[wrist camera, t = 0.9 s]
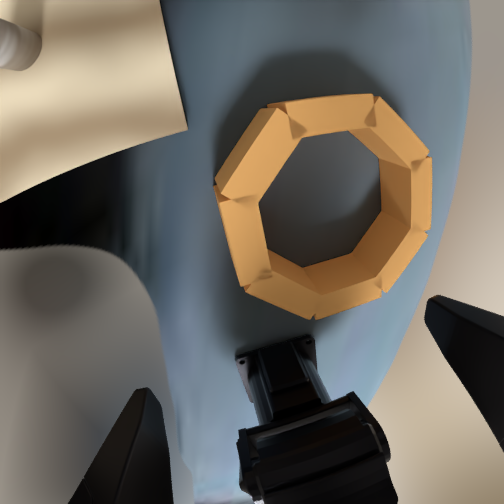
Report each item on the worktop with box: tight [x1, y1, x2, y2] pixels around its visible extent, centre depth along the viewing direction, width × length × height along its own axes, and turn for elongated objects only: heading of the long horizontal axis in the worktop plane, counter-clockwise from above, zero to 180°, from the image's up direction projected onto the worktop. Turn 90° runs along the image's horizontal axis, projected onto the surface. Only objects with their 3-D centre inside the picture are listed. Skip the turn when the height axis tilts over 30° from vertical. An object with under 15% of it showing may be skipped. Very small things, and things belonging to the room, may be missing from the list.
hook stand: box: [0, 0, 188, 203], centre depth 8 cm, size 16×16×6 cm
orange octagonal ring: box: [213, 94, 432, 320], centre depth 17 cm, size 13×13×4 cm
